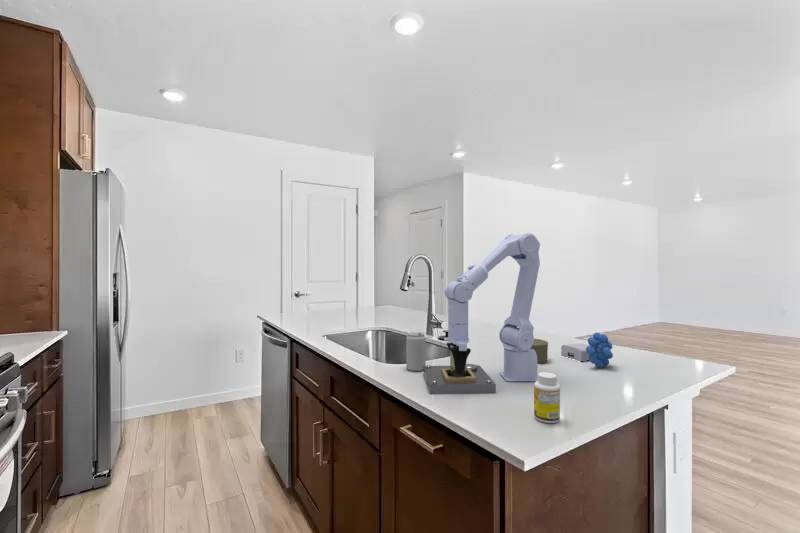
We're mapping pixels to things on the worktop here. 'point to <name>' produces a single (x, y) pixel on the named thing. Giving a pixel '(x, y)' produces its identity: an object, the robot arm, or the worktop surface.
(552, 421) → the supplement bottle
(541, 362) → the can
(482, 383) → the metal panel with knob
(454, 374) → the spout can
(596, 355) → the grapes
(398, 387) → the worktop surface
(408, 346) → the beverage can
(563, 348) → the charger
